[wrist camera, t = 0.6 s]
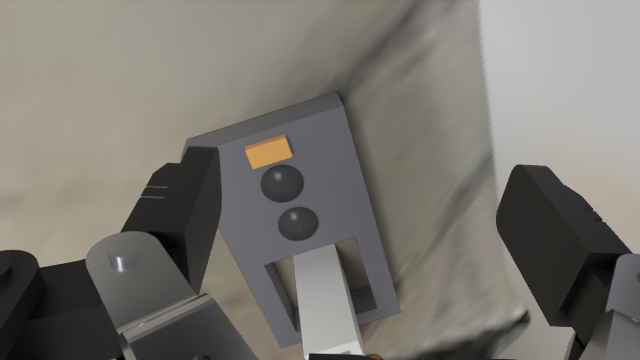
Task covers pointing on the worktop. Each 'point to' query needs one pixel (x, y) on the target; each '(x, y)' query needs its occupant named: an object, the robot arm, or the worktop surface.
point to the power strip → (297, 205)
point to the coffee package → (375, 357)
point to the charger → (325, 304)
